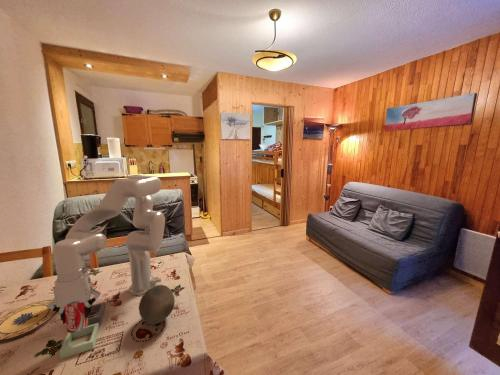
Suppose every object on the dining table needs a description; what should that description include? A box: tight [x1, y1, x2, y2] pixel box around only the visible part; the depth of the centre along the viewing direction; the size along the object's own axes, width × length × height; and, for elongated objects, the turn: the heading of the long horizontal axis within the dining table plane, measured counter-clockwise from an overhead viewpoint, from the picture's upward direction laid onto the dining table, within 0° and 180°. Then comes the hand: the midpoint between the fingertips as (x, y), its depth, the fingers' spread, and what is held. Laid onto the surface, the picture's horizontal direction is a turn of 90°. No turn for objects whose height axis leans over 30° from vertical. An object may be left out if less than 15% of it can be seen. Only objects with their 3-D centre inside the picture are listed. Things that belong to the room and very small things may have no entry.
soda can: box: [64, 302, 88, 333], centre depth 78 cm, size 6×6×12 cm
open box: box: [59, 302, 106, 360], centre depth 86 cm, size 10×22×3 cm, turn 25°
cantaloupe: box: [138, 284, 176, 325], centre depth 90 cm, size 14×14×15 cm
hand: (77, 317), depth 78 cm, fingers closed on soda can, 6 cm apart
